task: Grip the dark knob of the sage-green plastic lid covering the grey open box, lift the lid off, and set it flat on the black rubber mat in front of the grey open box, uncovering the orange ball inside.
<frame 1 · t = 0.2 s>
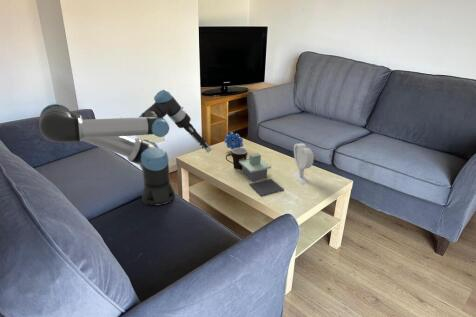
hand: (204, 146, 178), 16 cm above the table, tool tilted 35°, fingers open, 13 cm apart
grey open box: (254, 175, 184), on the table
coffee mug: (236, 167, 192), on the table
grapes: (233, 151, 212), on the table
lid: (254, 165, 181), point 6 cm above the table, touching grey open box
heart sculpture: (300, 178, 182), on the table
mat: (266, 187, 172), on the table
ball: (254, 171, 183), point 2 cm above the table, touching grey open box
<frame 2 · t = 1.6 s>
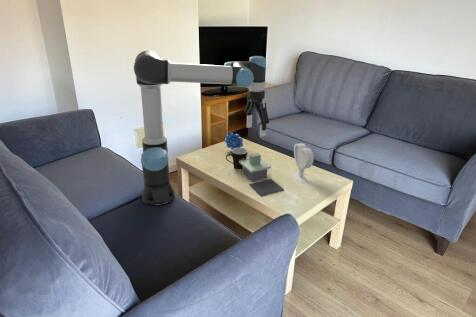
hand: (255, 131, 173), 25 cm above the table, tool pointing down, fingers open, 13 cm apart
nothing on the table moved.
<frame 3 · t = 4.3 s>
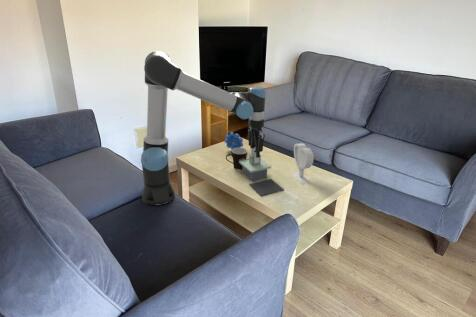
hand: (254, 161, 180), 9 cm above the table, tool pointing down, fingers closed on lid, 3 cm apart
lid: (254, 165, 181), point 6 cm above the table, touching grey open box, gripper
everything else where it was.
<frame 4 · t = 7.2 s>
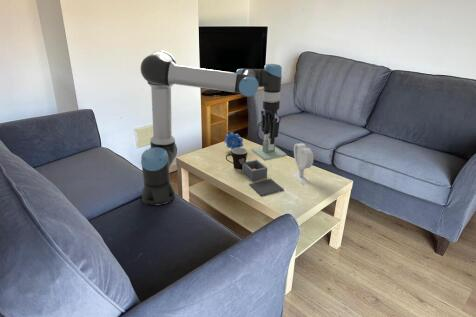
hand: (268, 148, 163), 22 cm above the table, tool pointing down, fingers closed on lid, 3 cm apart
lid: (268, 153, 164), point 19 cm above the table, touching gripper
everything else where it was.
when the fingers open (5 cm above the table, at t = 10.6 s): lid drops 2 cm, resting on mat.
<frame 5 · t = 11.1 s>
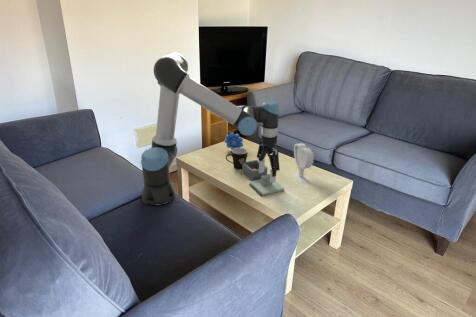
hand: (266, 176, 169), 6 cm above the table, tool pointing down, fingers open, 10 cm apart
lid: (266, 186, 172), point 1 cm above the table, touching mat
everything else where it was.
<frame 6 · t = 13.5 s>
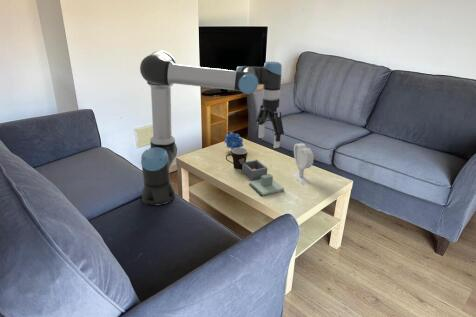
hand: (268, 142, 161), 25 cm above the table, tool pointing down, fingers open, 13 cm apart
nothing on the table moved.
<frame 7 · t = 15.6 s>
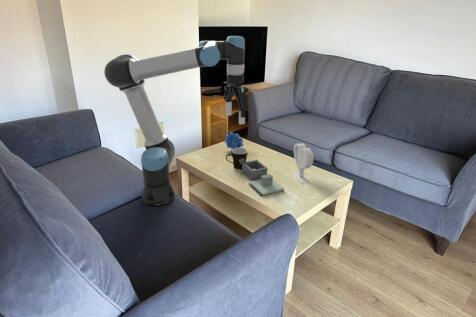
hand: (235, 119, 160), 35 cm above the table, tool pointing down, fingers open, 13 cm apart
nothing on the table moved.
at the end: lid inside the target area (0.0 cm from its centre), point 0.6 cm above the table; lid touching mat; lid tilted 0° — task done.
